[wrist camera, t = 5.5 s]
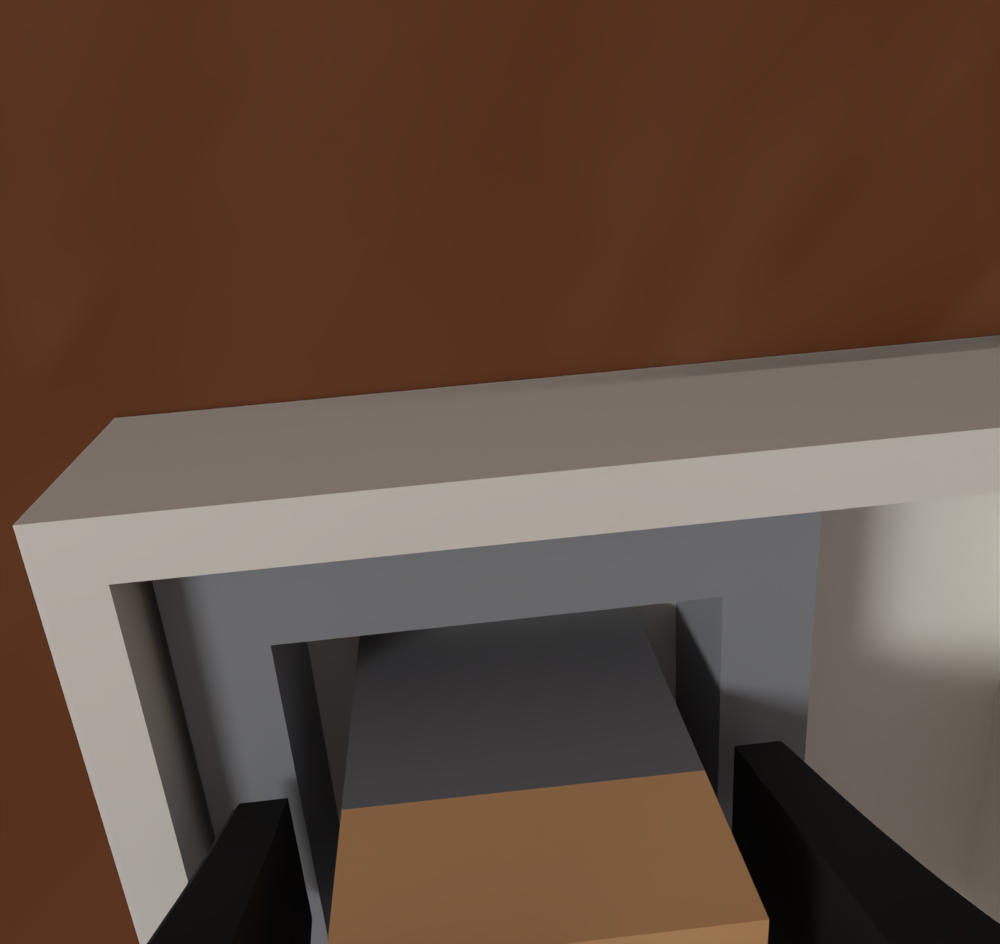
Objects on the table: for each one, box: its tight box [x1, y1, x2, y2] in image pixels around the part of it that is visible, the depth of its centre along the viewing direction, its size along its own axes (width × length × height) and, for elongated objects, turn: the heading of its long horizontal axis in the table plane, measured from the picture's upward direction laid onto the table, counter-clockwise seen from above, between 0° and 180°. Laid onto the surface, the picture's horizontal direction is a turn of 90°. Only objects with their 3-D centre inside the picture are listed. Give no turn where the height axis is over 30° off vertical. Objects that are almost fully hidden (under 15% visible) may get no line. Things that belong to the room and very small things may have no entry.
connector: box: [328, 606, 769, 944], centre depth 12 cm, size 4×4×6 cm
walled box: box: [13, 335, 1000, 944], centre depth 14 cm, size 14×12×4 cm
